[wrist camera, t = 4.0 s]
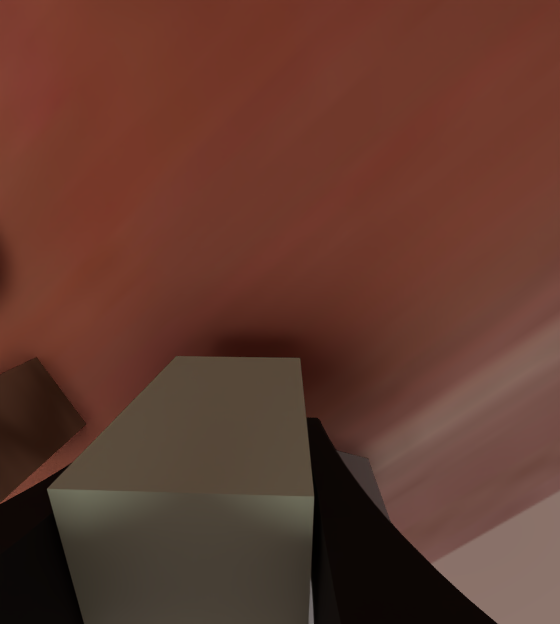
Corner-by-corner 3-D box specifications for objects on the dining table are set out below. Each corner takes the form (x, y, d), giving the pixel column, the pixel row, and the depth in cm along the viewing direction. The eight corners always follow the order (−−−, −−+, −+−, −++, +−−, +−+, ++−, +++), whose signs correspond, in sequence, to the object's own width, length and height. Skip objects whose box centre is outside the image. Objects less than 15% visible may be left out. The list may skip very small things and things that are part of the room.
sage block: (297, 461, 12) (306, 668, 6) (186, 458, 12) (93, 658, 6) (300, 358, 11) (313, 496, 5) (176, 355, 11) (47, 488, 5)
